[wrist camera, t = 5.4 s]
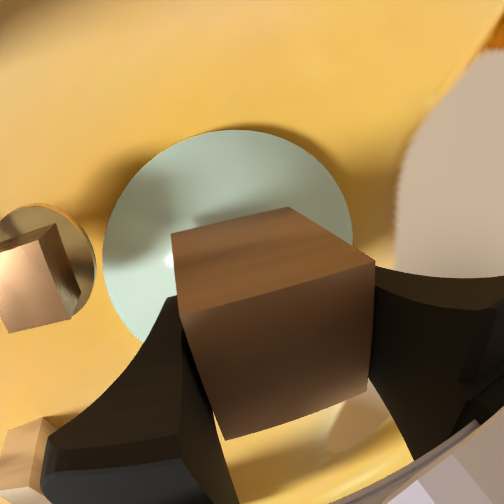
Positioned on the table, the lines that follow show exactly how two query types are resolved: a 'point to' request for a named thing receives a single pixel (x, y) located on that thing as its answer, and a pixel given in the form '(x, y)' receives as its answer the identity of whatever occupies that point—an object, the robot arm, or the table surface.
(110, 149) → the table surface
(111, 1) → the table surface
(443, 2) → the table surface
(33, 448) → the maple block
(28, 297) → the balance
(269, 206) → the dish
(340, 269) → the walnut block
